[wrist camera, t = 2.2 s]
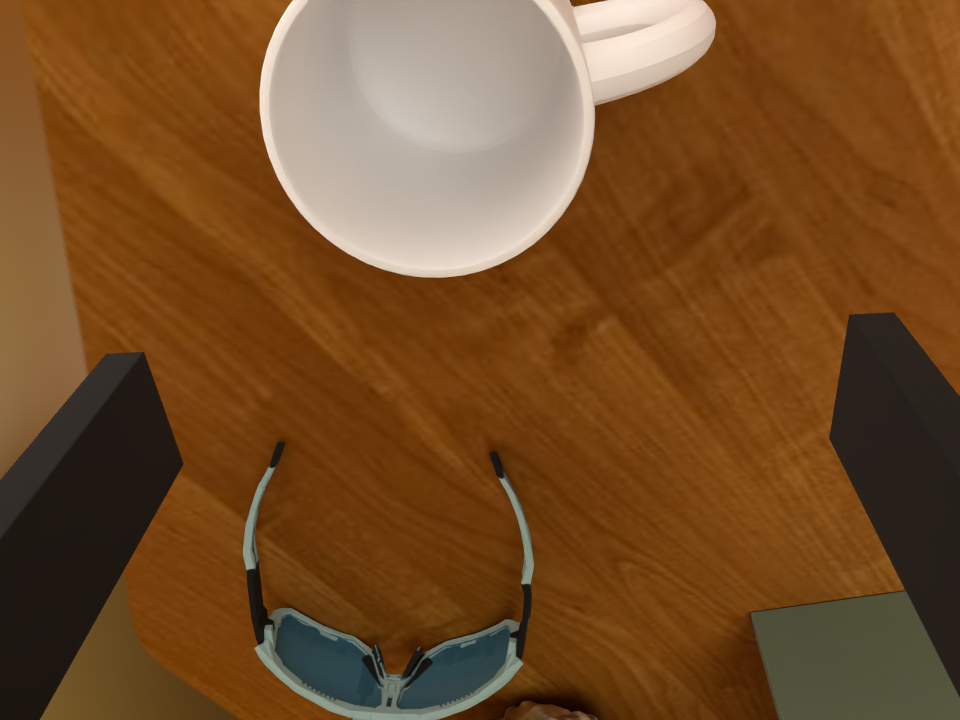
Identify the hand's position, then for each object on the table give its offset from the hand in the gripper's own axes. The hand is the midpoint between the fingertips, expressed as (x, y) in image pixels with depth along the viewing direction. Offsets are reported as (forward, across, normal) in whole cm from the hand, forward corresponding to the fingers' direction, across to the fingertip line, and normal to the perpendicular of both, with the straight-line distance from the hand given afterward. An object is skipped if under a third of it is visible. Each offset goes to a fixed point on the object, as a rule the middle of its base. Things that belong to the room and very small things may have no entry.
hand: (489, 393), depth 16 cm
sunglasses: (+18, -7, -21) cm, 29 cm away
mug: (+18, 0, +3) cm, 18 cm away
